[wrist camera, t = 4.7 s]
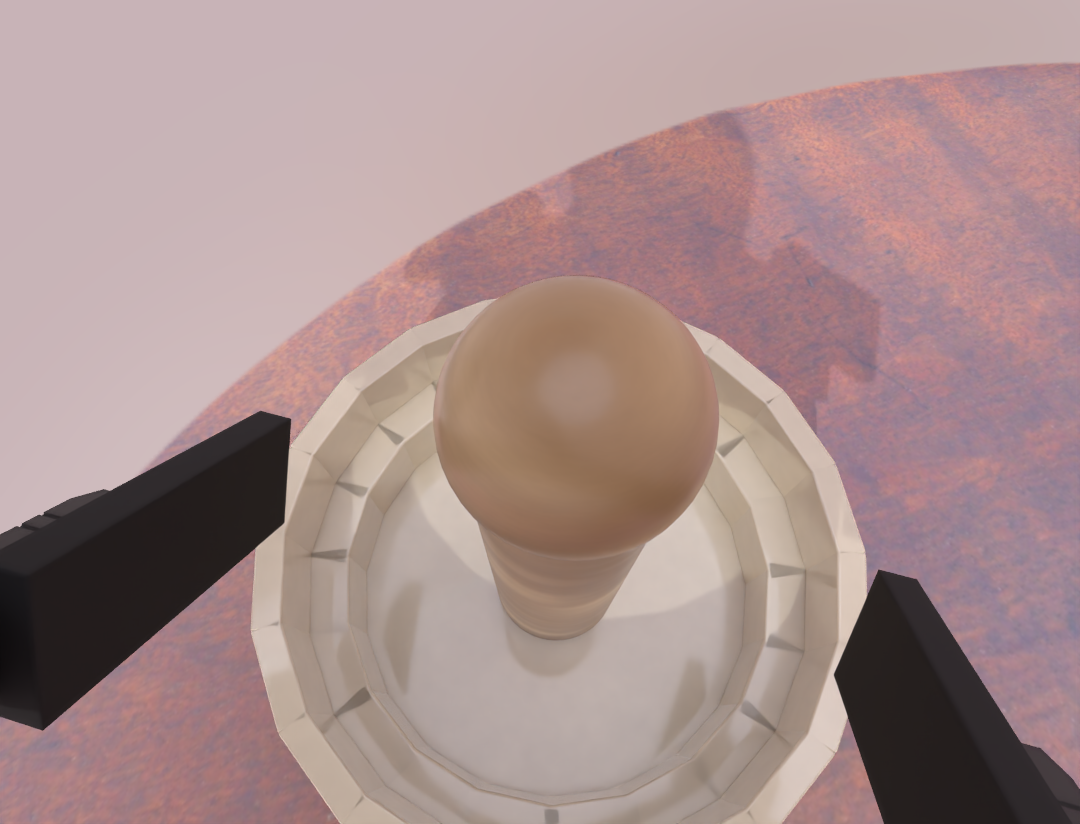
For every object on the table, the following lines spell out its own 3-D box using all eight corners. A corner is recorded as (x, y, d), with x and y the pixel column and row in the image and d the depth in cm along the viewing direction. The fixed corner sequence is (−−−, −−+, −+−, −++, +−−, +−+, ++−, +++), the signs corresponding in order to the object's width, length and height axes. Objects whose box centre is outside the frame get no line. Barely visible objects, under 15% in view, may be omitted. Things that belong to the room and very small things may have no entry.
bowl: (308, 907, 19) (228, 969, 14) (319, 398, 26) (268, 320, 21) (863, 823, 20) (970, 855, 15) (728, 353, 27) (771, 270, 22)
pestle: (495, 659, 22) (417, 534, 8) (482, 522, 23) (403, 227, 10) (634, 640, 22) (801, 488, 8) (610, 506, 24) (711, 197, 10)
